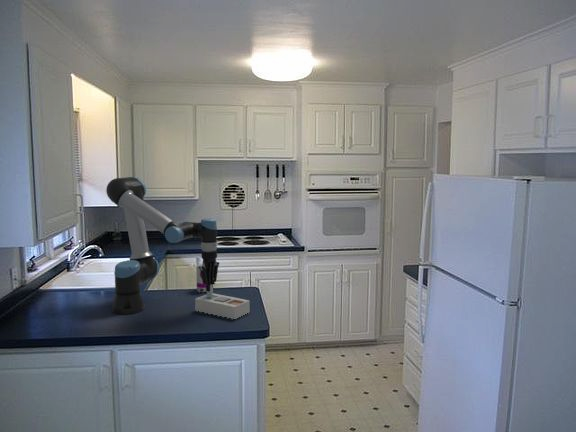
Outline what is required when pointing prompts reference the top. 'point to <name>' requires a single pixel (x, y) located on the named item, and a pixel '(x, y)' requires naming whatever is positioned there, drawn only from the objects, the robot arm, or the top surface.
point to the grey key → (222, 299)
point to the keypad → (222, 306)
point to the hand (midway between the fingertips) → (209, 297)
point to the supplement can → (200, 281)
